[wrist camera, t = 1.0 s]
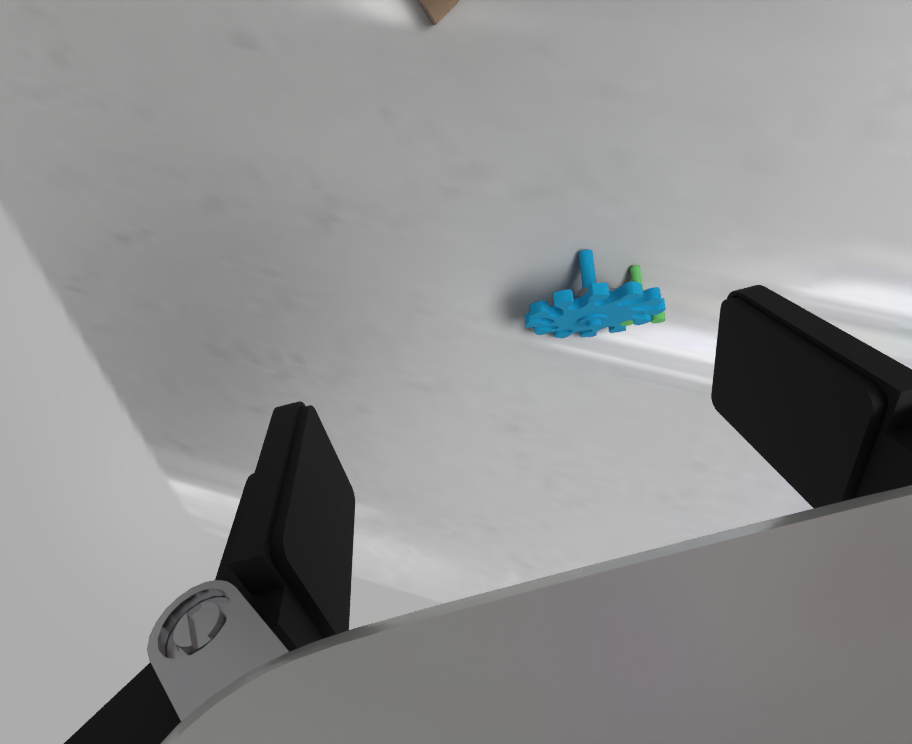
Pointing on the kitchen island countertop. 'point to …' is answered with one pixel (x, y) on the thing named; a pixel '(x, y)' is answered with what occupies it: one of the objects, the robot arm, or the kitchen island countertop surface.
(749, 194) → the kitchen island countertop surface
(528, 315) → the gear
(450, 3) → the gear board
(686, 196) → the kitchen island countertop surface
